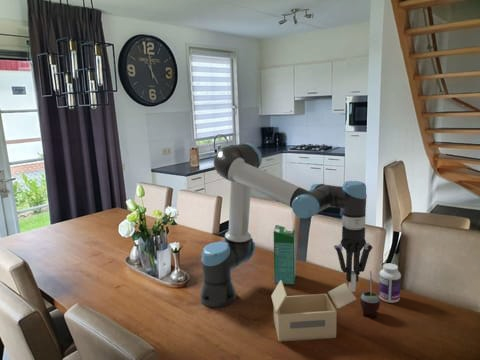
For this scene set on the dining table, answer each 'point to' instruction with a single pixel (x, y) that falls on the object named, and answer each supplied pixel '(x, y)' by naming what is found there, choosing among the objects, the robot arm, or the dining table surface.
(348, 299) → the flap right
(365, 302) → the mate gourd
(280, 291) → the flap left
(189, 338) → the dining table surface
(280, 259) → the milk carton
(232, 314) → the dining table surface
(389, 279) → the pill bottle
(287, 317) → the carton
